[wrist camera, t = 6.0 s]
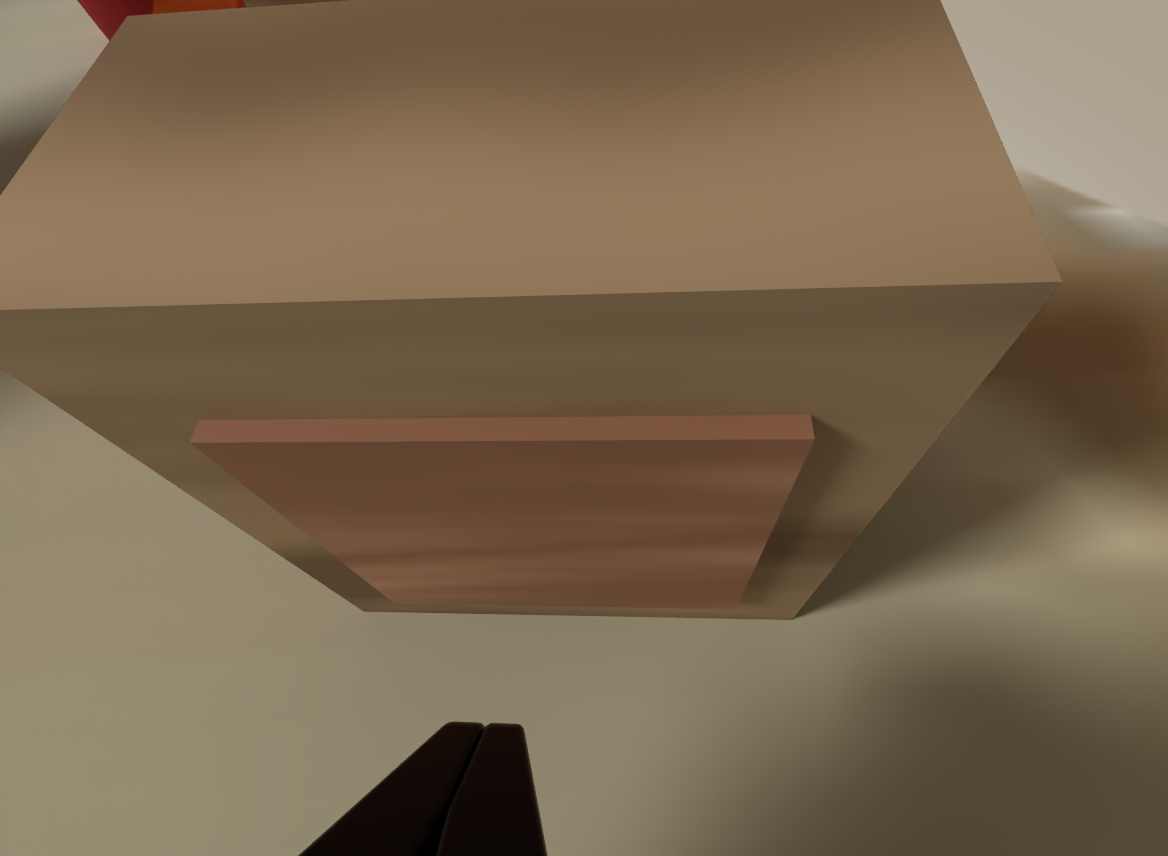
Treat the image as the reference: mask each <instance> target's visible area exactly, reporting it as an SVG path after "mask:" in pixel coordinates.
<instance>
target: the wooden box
mask: <svg viewBox="0 0 1168 856" xmlns="http://www.w3.org/2000/svg"><path fill="white" fill-rule="evenodd" d="M1062 282H1063V281H1062V279H1061V277H1060V274H1059V272H1058V270H1057V267H1056V265H1055V263H1054V261H1053V258H1052V256H1051V254H1050V251H1049V249H1048V247H1047V244H1046V242H1045V240H1044V238H1043V235H1042V233H1041V231H1040V228H1039V226H1038V224H1037V221H1036V219H1035V217H1034V215H1033V212H1032V210H1031V208H1030V205H1029V203H1028V201H1027V199H1026V196H1025V194H1024V192H1023V189H1022V187H1021V185H1020V182H1019V180H1018V178H1017V176H1016V173H1015V171H1014V169H1013V166H1012V164H1011V162H1010V159H1009V157H1008V155H1007V153H1006V150H1005V148H1004V146H1003V143H1002V141H1001V139H1000V137H999V134H998V132H997V130H996V127H995V125H994V123H993V120H992V118H991V116H990V113H989V111H988V109H987V107H986V104H985V102H984V100H983V97H982V95H981V93H980V90H979V88H978V86H977V84H976V81H975V79H974V77H973V74H972V72H971V70H970V68H969V65H968V63H967V61H966V58H965V56H964V54H963V51H962V49H961V47H960V45H959V43H958V40H957V38H956V35H955V33H954V31H953V29H952V26H951V24H950V22H949V19H948V17H947V15H946V12H945V10H944V8H943V5H942V3H941V1H940V0H345V1H331V2H317V3H303V4H289V5H275V6H261V7H247V8H233V9H219V10H205V11H191V12H177V13H163V14H149V15H135V16H127V17H126V19H125V20H124V22H123V23H122V24H121V26H120V27H119V29H118V30H117V32H116V33H115V34H114V36H113V37H112V39H111V40H110V41H109V43H108V44H107V46H106V47H105V48H104V50H103V51H102V53H101V54H100V55H99V57H98V58H97V60H96V61H95V63H94V64H93V65H92V67H91V68H90V70H89V71H88V72H87V74H86V75H85V77H84V78H83V79H82V81H81V82H80V84H79V85H78V87H77V88H76V89H75V91H74V92H73V94H72V95H71V96H70V98H69V99H68V101H67V102H66V103H65V105H64V106H63V108H62V109H61V110H60V112H59V113H58V115H57V116H56V118H55V119H54V120H53V122H52V123H51V125H50V126H49V127H48V129H47V130H46V132H45V133H44V134H43V136H42V137H41V139H40V140H39V142H38V143H37V144H36V146H35V147H34V149H33V150H32V151H31V153H30V154H29V156H28V157H27V158H26V160H25V161H24V163H23V164H22V165H21V167H20V168H19V170H18V171H17V173H16V174H15V175H14V177H13V178H12V180H11V181H10V182H9V184H8V185H7V187H6V188H5V189H4V191H3V192H2V194H1V195H0V368H1V369H3V370H4V371H6V372H7V373H9V374H10V375H12V376H13V377H15V378H16V379H18V380H19V381H21V382H22V383H24V384H25V385H27V386H28V387H30V388H31V389H33V390H34V391H36V392H37V393H39V394H40V395H42V396H43V397H45V398H46V399H48V400H49V401H51V402H52V403H54V404H55V405H57V406H58V407H60V408H61V409H63V410H64V411H66V412H67V413H69V414H70V415H72V416H73V417H74V418H76V419H77V420H79V421H80V422H82V423H83V424H85V425H86V426H88V427H89V428H91V429H92V430H94V431H95V432H97V433H98V434H100V435H101V436H103V437H104V438H106V439H107V440H109V441H110V442H112V443H113V444H115V445H116V446H118V447H119V448H121V449H122V450H124V451H125V452H127V453H128V454H130V455H131V456H133V457H134V458H136V459H137V460H139V461H140V462H142V463H143V464H145V465H146V466H148V467H149V468H151V469H152V470H154V471H155V472H157V473H158V474H159V475H161V476H162V477H164V478H165V479H167V480H168V481H170V482H171V483H173V484H174V485H176V486H177V487H179V488H180V489H182V490H183V491H185V492H186V493H188V494H189V495H191V496H192V497H194V498H195V499H197V500H198V501H200V502H201V503H203V504H204V505H206V506H207V507H209V508H210V509H212V510H213V511H215V512H216V513H218V514H219V515H221V516H222V517H224V518H225V519H227V520H228V521H230V522H231V523H233V524H234V525H236V526H237V527H239V528H240V529H242V530H243V531H245V532H246V533H247V534H249V535H250V536H252V537H253V538H255V539H256V540H258V541H259V542H261V543H262V544H264V545H265V546H267V547H268V548H270V549H271V550H273V551H274V552H276V553H277V554H279V555H280V556H282V557H283V558H285V559H286V560H288V561H289V562H291V563H292V564H294V565H295V566H297V567H298V568H300V569H301V570H303V571H304V572H306V573H307V574H309V575H310V576H312V577H313V578H315V579H316V580H318V581H319V582H321V583H322V584H324V585H325V586H327V587H328V588H330V589H331V590H332V591H334V592H335V593H337V594H338V595H340V596H341V597H343V598H344V599H346V600H347V601H349V602H350V603H352V604H353V605H355V606H356V607H358V608H359V609H361V610H362V611H366V612H417V613H469V614H520V615H572V616H623V617H675V618H727V619H778V620H792V619H793V618H794V617H795V615H796V614H797V613H798V612H799V610H800V609H801V608H802V607H803V605H804V604H805V603H806V602H807V600H808V599H809V598H810V597H811V595H812V594H813V593H814V592H815V590H816V589H817V588H818V587H819V585H820V584H821V583H822V582H823V580H824V579H825V578H826V577H827V575H828V574H829V573H830V572H831V570H832V569H833V568H834V567H835V565H836V564H837V563H838V562H839V560H840V559H841V558H842V557H843V555H844V554H845V553H846V552H847V550H848V549H849V548H850V547H851V545H852V544H853V543H854V542H855V540H856V539H857V538H858V537H859V535H860V534H861V533H862V532H863V530H864V529H865V528H866V527H867V525H868V524H869V523H870V522H871V520H872V519H873V518H874V517H875V515H876V514H877V513H878V512H879V510H880V509H881V508H882V507H883V505H884V504H885V503H886V502H887V500H888V499H889V498H890V497H891V495H892V494H893V493H894V492H895V490H896V489H897V488H898V487H899V485H900V484H901V483H902V482H903V481H904V479H905V478H906V477H907V476H908V474H909V473H910V472H911V471H912V469H913V468H914V467H915V466H916V464H917V463H918V462H919V461H920V459H921V458H922V457H923V456H924V454H925V453H926V452H927V451H928V449H929V448H930V447H931V446H932V444H933V443H934V442H935V441H936V439H937V438H938V437H939V436H940V434H941V433H942V432H943V431H944V429H945V428H946V427H947V426H948V424H949V423H950V422H951V421H952V419H953V418H954V417H955V416H956V414H957V413H958V412H959V411H960V409H961V408H962V407H963V406H964V404H965V403H966V402H967V401H968V399H969V398H970V397H971V396H972V394H973V393H974V392H975V391H976V389H977V388H978V387H979V386H980V384H981V383H982V382H983V381H984V379H985V378H986V377H987V376H988V374H989V373H990V372H991V371H992V369H993V368H994V367H995V366H996V364H997V363H998V362H999V361H1000V359H1001V358H1002V357H1003V356H1004V354H1005V353H1006V352H1007V351H1008V349H1009V348H1010V347H1011V346H1012V344H1013V343H1014V342H1015V341H1016V339H1017V338H1018V337H1019V336H1020V334H1021V333H1022V332H1023V331H1024V329H1025V328H1026V327H1027V326H1028V324H1029V323H1030V322H1031V321H1032V319H1033V318H1034V317H1035V316H1036V314H1037V313H1038V312H1039V311H1040V309H1041V308H1042V307H1043V306H1044V304H1045V303H1046V302H1047V301H1048V299H1049V298H1050V297H1051V296H1052V294H1053V293H1054V292H1055V291H1056V289H1057V288H1058V287H1059V286H1060V284H1061V283H1062Z"/></svg>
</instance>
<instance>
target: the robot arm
mask: <svg viewBox="0 0 1168 856" xmlns="http://www.w3.org/2000/svg"><path fill="white" fill-rule="evenodd" d="M299 856H547V851H546V845H545V840H544V835H543V829H542V824H541V818H540V813H539V808H538V802H537V797H536V791H535V786H534V781H533V775H532V770H531V765H530V759H529V754H528V748H527V743H526V738H525V732H524V729H523V727H522V726H521V725H520V724H505V723H490V724H489V725H487V726H486V727H485V726H484V725H483V724H481V723H478V722H449V723H447V724H445V725H444V726H443V727H442V728H440V729H439V730H438V731H437V732H436V733H435V734H434V735H433V736H431V737H430V738H429V739H428V740H427V741H426V742H425V743H424V744H423V745H421V746H420V747H419V748H418V749H417V750H416V751H415V752H414V753H412V754H411V755H410V756H409V757H408V758H407V759H406V760H405V761H404V762H402V763H401V764H400V765H399V766H398V767H397V768H396V769H395V770H393V771H392V772H391V773H390V774H389V775H388V776H387V777H386V778H385V779H383V780H382V781H381V782H380V783H379V784H378V785H377V786H376V787H374V788H373V789H372V790H371V791H370V792H369V793H368V794H367V795H366V796H364V797H363V798H362V799H361V800H360V801H359V802H358V803H357V804H355V805H354V806H353V807H352V808H351V809H350V810H349V811H348V812H347V813H345V814H344V815H343V816H342V817H341V818H340V819H339V820H338V821H336V822H335V823H334V824H333V825H332V826H331V827H330V828H329V829H328V830H326V831H325V832H324V833H323V834H322V835H321V836H320V837H319V838H318V839H316V840H315V841H314V842H313V843H312V844H311V845H310V846H309V847H307V848H306V849H305V850H304V851H303V852H302V853H301V854H300V855H299Z"/></svg>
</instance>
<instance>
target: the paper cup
mask: <svg viewBox="0 0 1168 856" xmlns="http://www.w3.org/2000/svg"><path fill="white" fill-rule="evenodd" d="M78 2H79V3H80V4H81V6H82V7H83V8H84V9H85V11H86V12H87V13H88V14H89V16H90V17H91V18H92V20H93V21H94V22H95V23H96V25H97V26H98V27H99V28H100V30H101V31H102V32H103V33H104V35H105V36H106V37H107V38H108V40H109V41H110V40H111V39H112V37H113V36H114V34H115V33H116V32H117V30H118V29H119V27H120V26H121V24H122V23H123V22H124V20H125V19H126V17H127V16H135V15H149V14H163V13H177V12H191V11H205V10H219V9H233V8H246V6H245V4H244V2H243V0H78Z"/></svg>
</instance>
